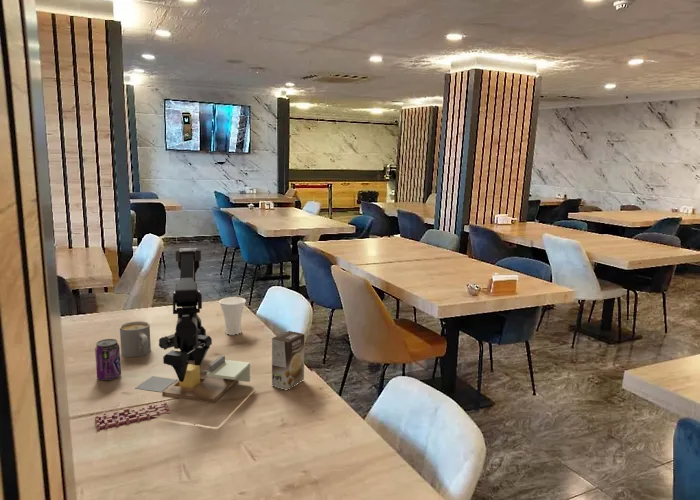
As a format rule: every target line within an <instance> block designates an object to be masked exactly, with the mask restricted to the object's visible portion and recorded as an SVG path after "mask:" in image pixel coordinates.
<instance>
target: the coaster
mask: <svg viewBox="0 0 700 500" xmlns="http://www.w3.org/2000/svg"><path fill="white" fill-rule="evenodd" d="M177 380H178V378H177V379H176V378H169V377H162V376H161V377H160V376H156V375H151V377H149V378H148V379H146V380H145V381H143V382H141V383H140V384H139V385H137V386H136V387H134V389H137V390H144V391H150V392H157V393H162V392H163V391H164V390H165V389H167V388H168V387H169V386H171V385H172V384H173V383H175V382H176V381H177Z"/></svg>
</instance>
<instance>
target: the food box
mask: <svg viewBox="0 0 700 500" xmlns="http://www.w3.org/2000/svg"><path fill="white" fill-rule="evenodd" d="M302 380H304V381H305V334H304V333H301V332H298V331H291V330H289V331H286V332H283V333H282V334H279V335H276V336H274V337H272V338H271V386H272V385H273V386H276V387H279V388H283V389H289V388H291V387H292V386H294V385H296V384H297V383H299V382H300V381H302ZM299 384H300V383H299ZM273 386H272V387H273ZM296 386H297V385H296ZM276 387H275V388H276ZM294 387H295V386H294ZM279 388H278V389H279ZM291 389H292V388H291ZM289 390H290V389H289Z"/></svg>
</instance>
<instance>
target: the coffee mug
mask: <svg viewBox="0 0 700 500" xmlns="http://www.w3.org/2000/svg"><path fill="white" fill-rule="evenodd" d="M150 326H151V325H150V323H149V322H147V321H143V320H141V321H140V320H138V321H136V320H135V321H129V322H126V323H122V324H121V325H120V326H119V337H120V338H119V339H120V355H122V356H123V357H125V358H126V357H127V358H137V357H142V356H145V355H148V354H149V353H150V352H151V351H152V347H151V346H152V345H151V332H150V331H151V330H150V328H151V327H150Z"/></svg>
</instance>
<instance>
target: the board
mask: <svg viewBox="0 0 700 500" xmlns="http://www.w3.org/2000/svg"><path fill="white" fill-rule="evenodd" d="M207 372H209V369H208V370H207V369H200V384H199V385H198V386H196V387H195V388H194V389H192V388H185V387H180V385H179V379H177V381H175V382H174V383H173V384H171V385H170V386H169V387H167V388H166V389H165V390H163V391H162V392H161V395H162V396H166V397H172V398H173V397H174V398H178V399H184V400H186V399H187V400H193V401H201V402H207V403H215V402H216V401H218V399H220V398H221V397H222V395H224V394H225V393H226V392H227V391H228V390H229V389H231V387H232V386H234V385H235V384H236V383H237V382H239V381H238V380H231V379H223V378H218V377H211V376H206V373H207Z"/></svg>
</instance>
